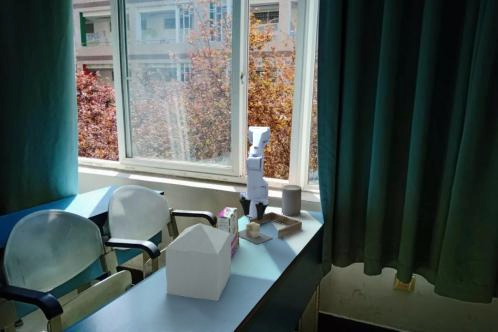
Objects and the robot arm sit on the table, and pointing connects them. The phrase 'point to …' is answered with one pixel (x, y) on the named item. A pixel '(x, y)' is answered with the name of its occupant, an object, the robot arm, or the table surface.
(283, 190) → the pillar candle
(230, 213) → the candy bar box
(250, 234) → the birch block
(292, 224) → the open wooden frame
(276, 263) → the table surface
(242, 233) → the mat
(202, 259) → the decorative block
